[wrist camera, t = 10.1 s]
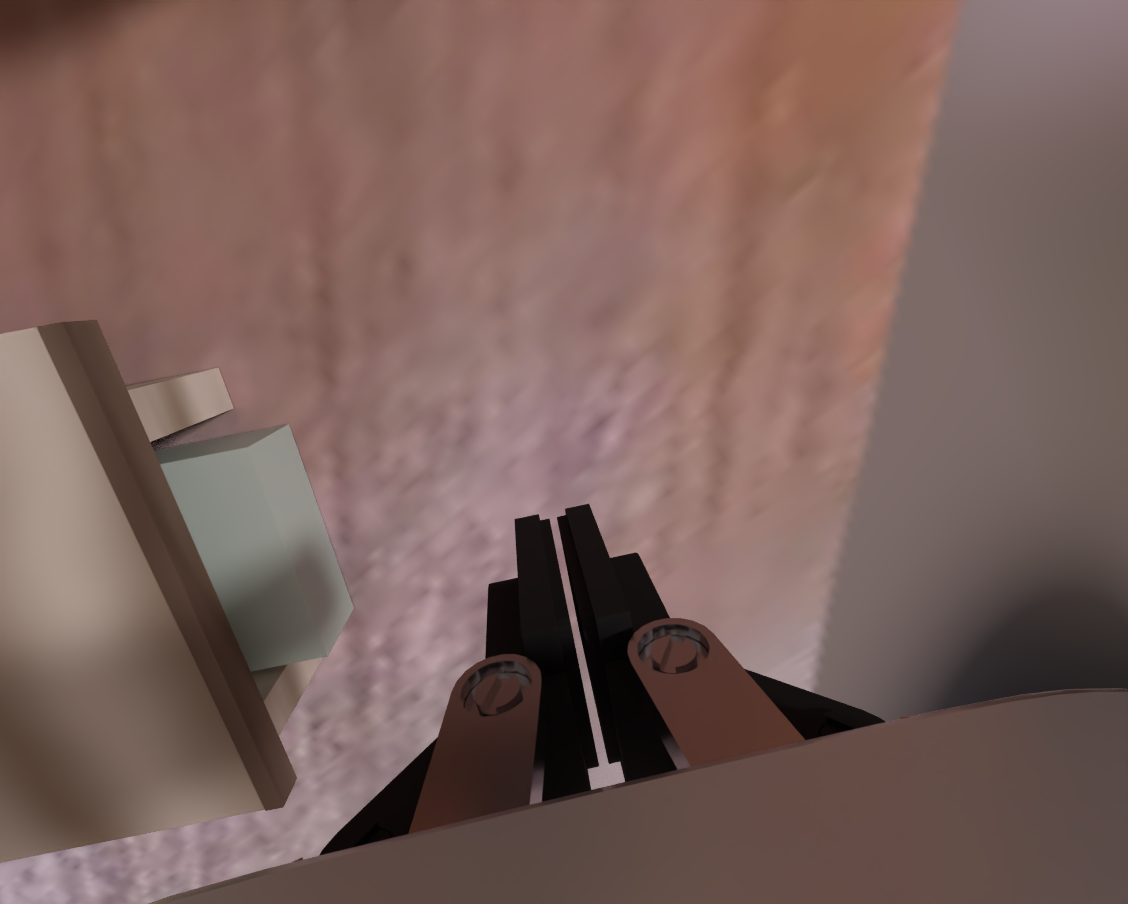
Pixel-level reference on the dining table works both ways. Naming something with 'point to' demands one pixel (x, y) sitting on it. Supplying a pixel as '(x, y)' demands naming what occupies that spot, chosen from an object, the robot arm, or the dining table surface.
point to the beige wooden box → (116, 614)
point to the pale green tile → (261, 543)
